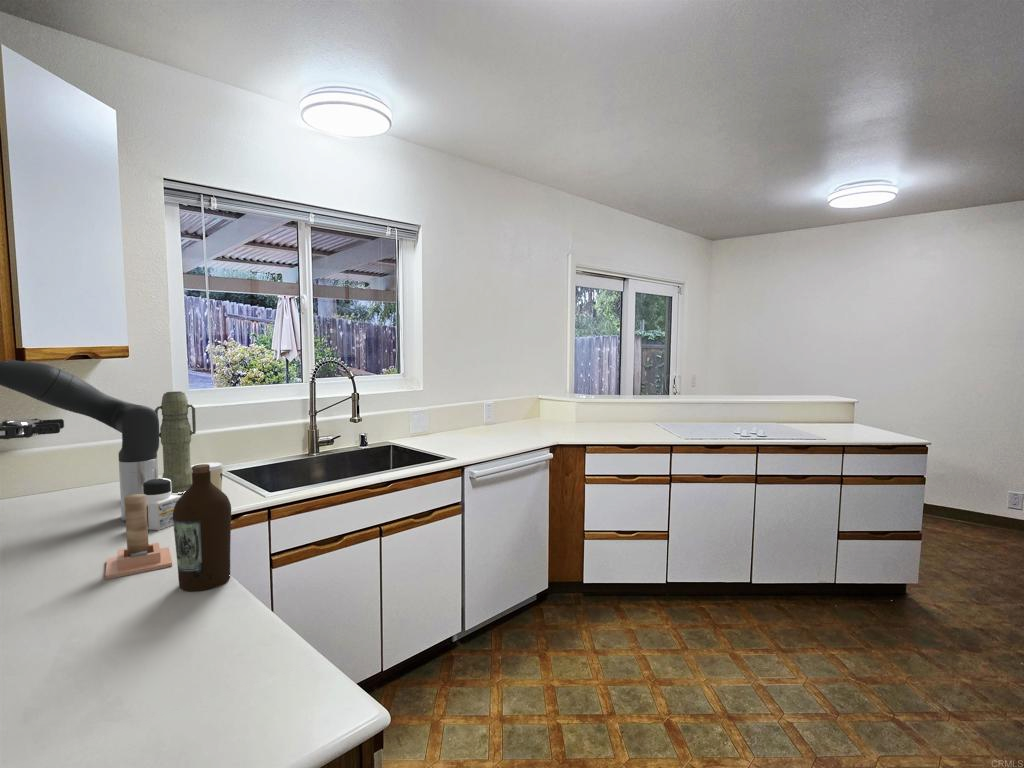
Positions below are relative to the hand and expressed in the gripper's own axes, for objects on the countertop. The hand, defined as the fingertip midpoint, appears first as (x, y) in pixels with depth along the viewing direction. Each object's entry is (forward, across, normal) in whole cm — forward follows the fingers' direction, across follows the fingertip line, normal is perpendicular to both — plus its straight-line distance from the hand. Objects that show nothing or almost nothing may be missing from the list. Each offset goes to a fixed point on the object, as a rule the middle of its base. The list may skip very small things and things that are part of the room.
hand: (61, 425), depth 119 cm
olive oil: (+24, -30, +32) cm, 50 cm away
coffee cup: (+32, +39, +32) cm, 60 cm away
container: (+18, +20, +32) cm, 42 cm away
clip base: (+13, -10, +32) cm, 36 cm away
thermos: (+25, +58, +32) cm, 71 cm away
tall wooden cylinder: (+13, -10, +31) cm, 35 cm away
